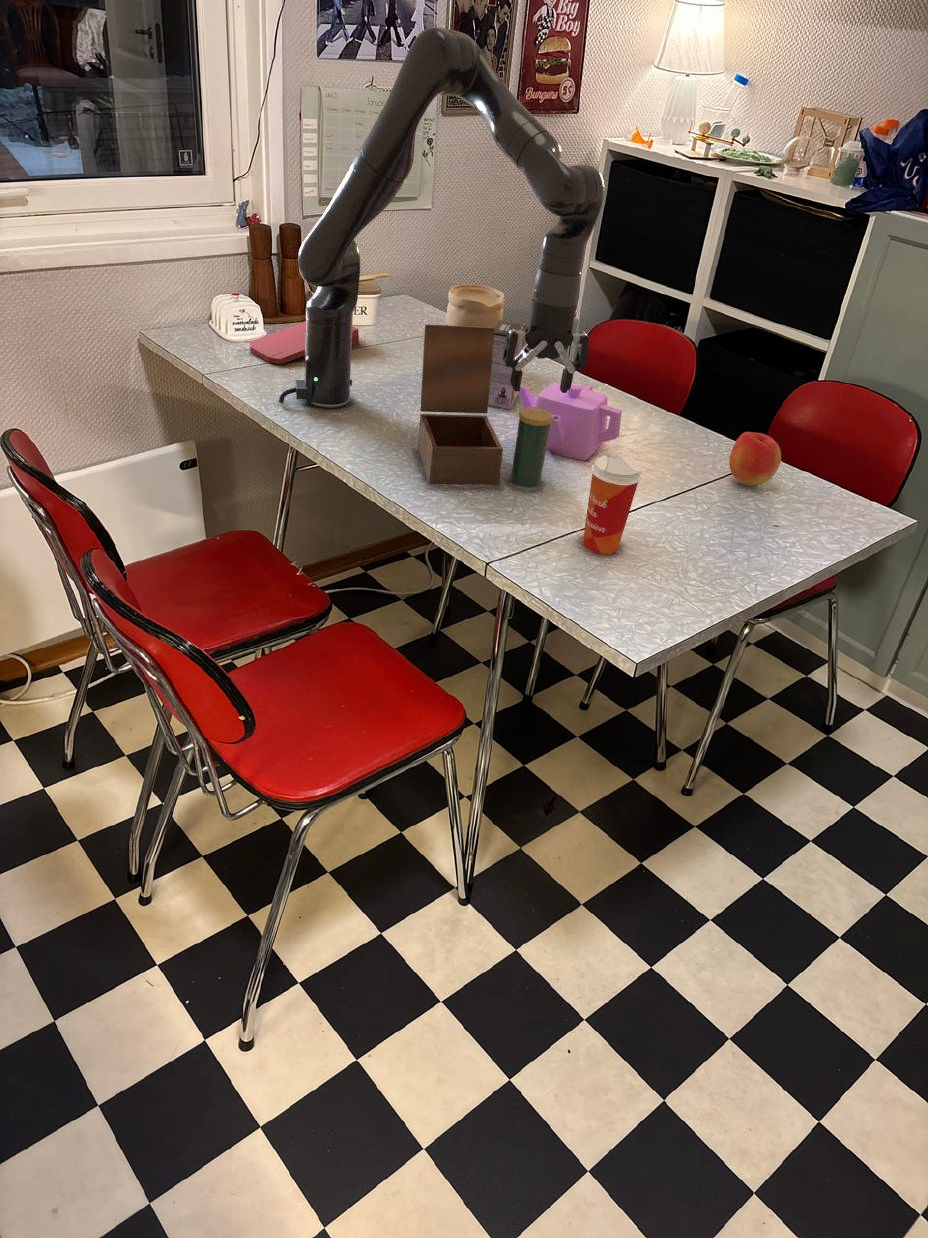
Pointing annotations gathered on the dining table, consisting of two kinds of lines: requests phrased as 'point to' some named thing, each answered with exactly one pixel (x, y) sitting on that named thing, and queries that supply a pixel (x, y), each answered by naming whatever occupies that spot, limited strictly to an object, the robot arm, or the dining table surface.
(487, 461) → the chest
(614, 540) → the coffee cup
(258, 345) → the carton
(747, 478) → the apple
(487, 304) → the container
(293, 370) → the dining table surface
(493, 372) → the coffee box
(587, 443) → the teakettle
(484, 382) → the chest lid
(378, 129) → the robot arm
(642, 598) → the dining table surface
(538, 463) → the tea tin
